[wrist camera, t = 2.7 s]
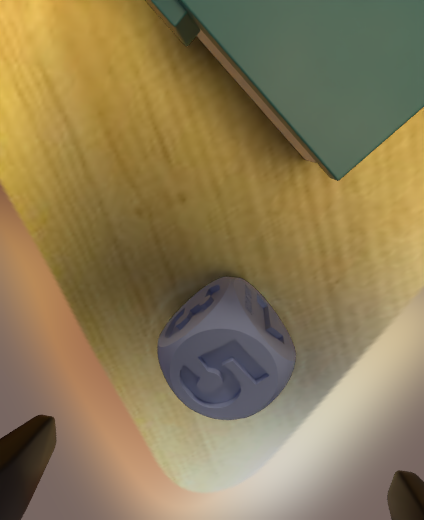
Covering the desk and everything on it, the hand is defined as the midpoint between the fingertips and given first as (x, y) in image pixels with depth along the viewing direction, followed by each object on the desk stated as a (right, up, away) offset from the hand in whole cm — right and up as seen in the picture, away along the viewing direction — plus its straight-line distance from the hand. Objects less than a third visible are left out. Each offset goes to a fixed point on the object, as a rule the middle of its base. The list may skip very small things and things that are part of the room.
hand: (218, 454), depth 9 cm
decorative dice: (+1, +2, +7) cm, 7 cm away
